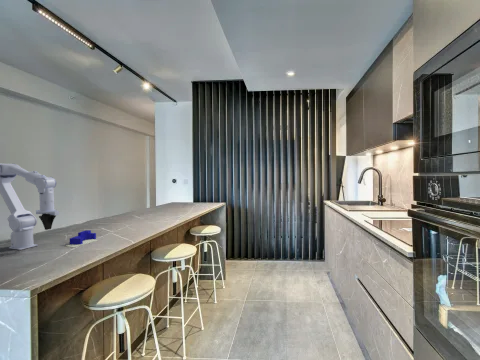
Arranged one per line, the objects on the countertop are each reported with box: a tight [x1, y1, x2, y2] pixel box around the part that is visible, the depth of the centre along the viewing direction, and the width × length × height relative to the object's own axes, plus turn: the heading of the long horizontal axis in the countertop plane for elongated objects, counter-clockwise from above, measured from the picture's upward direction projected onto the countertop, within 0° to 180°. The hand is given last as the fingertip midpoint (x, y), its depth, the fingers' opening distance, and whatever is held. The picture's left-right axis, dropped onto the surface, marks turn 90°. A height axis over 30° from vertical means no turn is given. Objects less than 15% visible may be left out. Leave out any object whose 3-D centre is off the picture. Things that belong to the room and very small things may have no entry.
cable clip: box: [69, 229, 97, 245], centre depth 138 cm, size 12×4×6 cm
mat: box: [65, 239, 99, 248], centre depth 135 cm, size 6×14×1 cm, turn 158°
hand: (48, 229), depth 126 cm, fingers closed
